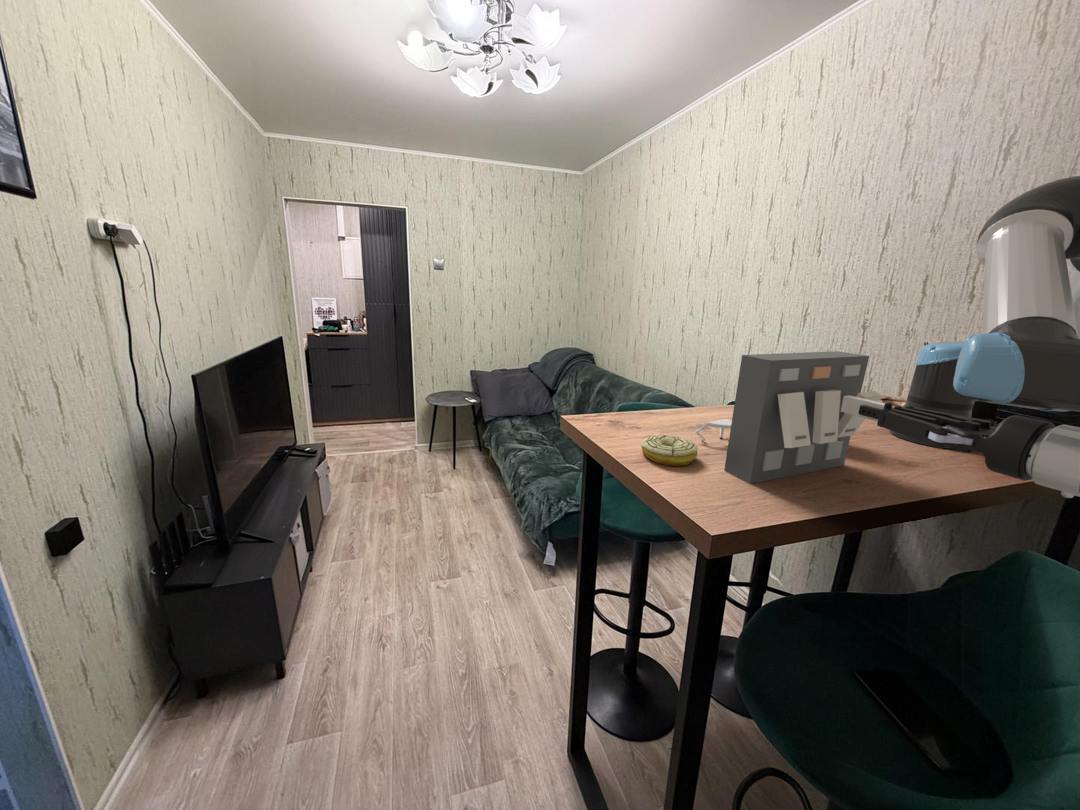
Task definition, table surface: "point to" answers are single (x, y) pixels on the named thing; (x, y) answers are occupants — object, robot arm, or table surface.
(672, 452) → the decorated donut
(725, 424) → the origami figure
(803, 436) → the rocker
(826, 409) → the middle rocker
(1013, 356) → the robot arm
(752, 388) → the power box
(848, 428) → the bar
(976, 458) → the table surface
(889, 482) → the table surface
